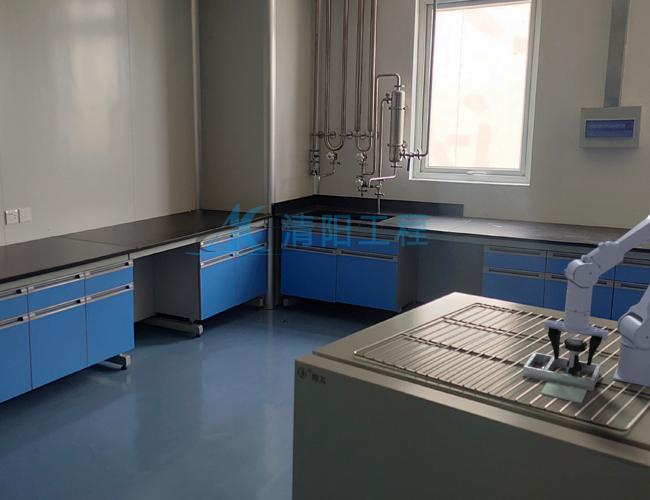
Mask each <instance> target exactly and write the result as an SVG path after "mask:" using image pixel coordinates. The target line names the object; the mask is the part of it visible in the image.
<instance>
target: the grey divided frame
mask: <svg viewBox="0 0 650 500" xmlns="http://www.w3.org/2000/svg"><path fill="white" fill-rule="evenodd" d="M546 361H548V362H549V363H548V364H547V366H546V367H545V369H544V370H543V369H541V368H537V367H535V365H536V363H537V364H542V365H543V364H544V363H545V362H546ZM567 361H569V358H568V357H567V358H566V357H562V356H559V357H558V359H554V355H551V354H547V353H542V352H541V353H540V352H534V351H533V353H532V354H531V356H530V357H529V358H528V360H527V361H526V362H525V364H524V365H523V369H522V377H525V378H531V379H535V380H540V381H544V382H551V383H556V384H560V385H565V386H570V387H574V388H579V389H584V390H587V391H591V392H593V391H594V390H595V386H596V384H597V381H598V379H599V377H600V374H601V366H602V365H601V364H598V363H594V362H591V365H590V366H588V365H587V361H582V360H579V363H580V365H582V368H581V373H587V374H592V375H591V377H590V378H586V377H582V376H579V377H577V376H572V375H567V374H566V373H561V372H557V371H553V370H554V368H555V367H558V368H562V369H566V368H567Z"/></svg>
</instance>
